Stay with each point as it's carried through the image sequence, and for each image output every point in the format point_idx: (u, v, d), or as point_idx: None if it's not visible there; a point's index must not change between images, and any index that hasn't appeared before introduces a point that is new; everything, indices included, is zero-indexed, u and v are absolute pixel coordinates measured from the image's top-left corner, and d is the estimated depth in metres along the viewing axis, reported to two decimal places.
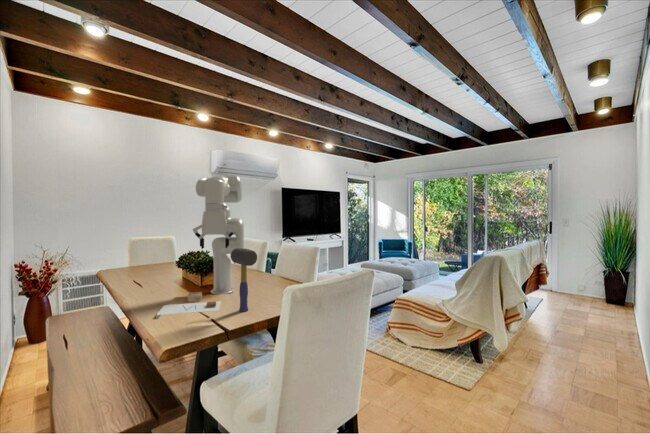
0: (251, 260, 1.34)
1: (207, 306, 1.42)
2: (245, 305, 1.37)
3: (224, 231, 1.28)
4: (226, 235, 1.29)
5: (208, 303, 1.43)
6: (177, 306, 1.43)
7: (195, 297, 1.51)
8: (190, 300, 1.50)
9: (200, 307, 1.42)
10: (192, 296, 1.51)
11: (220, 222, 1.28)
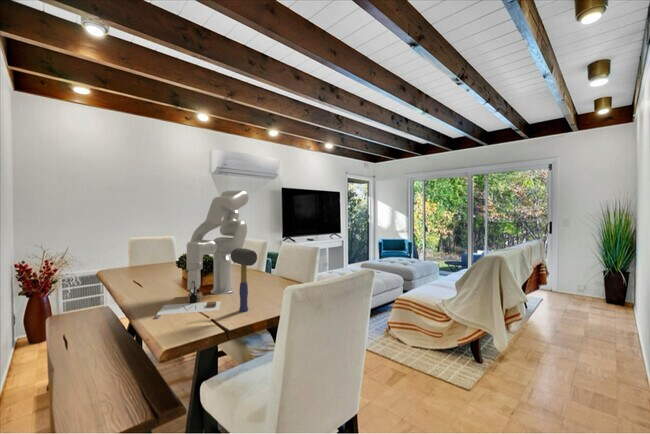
0: (251, 260, 1.34)
1: (207, 306, 1.42)
2: (245, 305, 1.37)
3: None
4: (198, 287, 1.57)
5: (208, 303, 1.43)
6: (177, 306, 1.43)
7: None
8: None
9: (200, 307, 1.42)
10: None
11: None
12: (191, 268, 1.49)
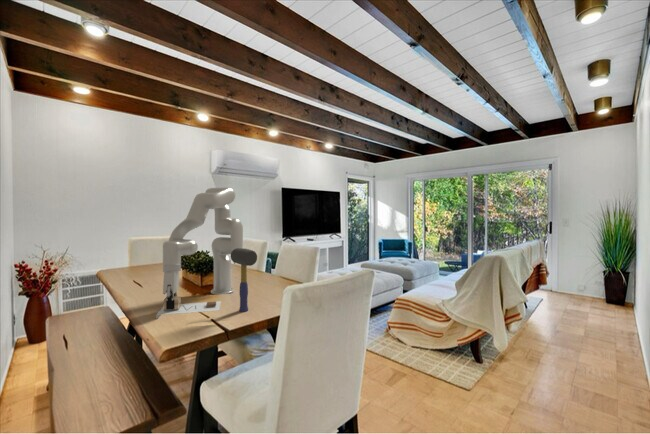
0: (251, 260, 1.34)
1: (207, 306, 1.42)
2: (245, 305, 1.37)
3: (178, 286, 1.44)
4: (176, 293, 1.43)
5: (208, 303, 1.43)
6: None
7: None
8: None
9: (200, 307, 1.42)
10: None
11: (178, 279, 1.42)
12: (167, 270, 1.35)
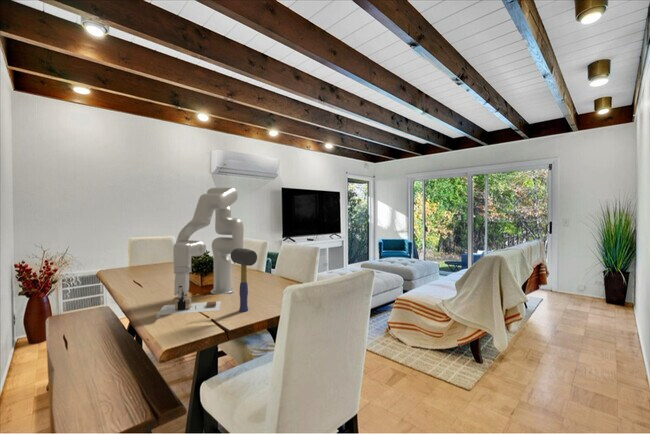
0: (251, 260, 1.34)
1: (207, 306, 1.42)
2: (245, 305, 1.37)
3: None
4: (186, 293, 1.44)
5: (208, 303, 1.43)
6: None
7: None
8: None
9: (200, 307, 1.42)
10: None
11: None
12: (178, 271, 1.37)
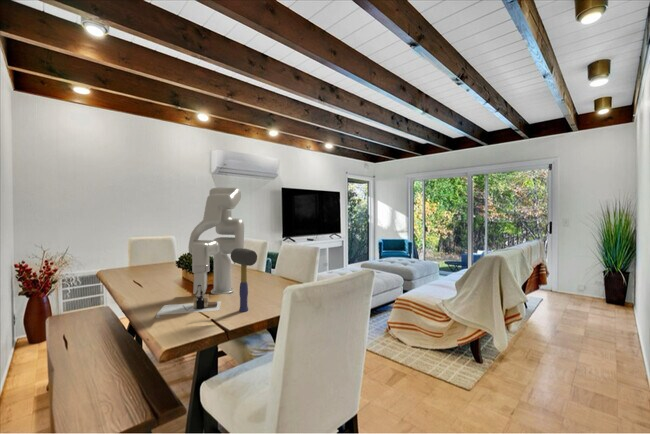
0: (251, 260, 1.34)
1: (208, 306, 1.42)
2: (245, 305, 1.37)
3: None
4: None
5: (209, 303, 1.43)
6: (177, 306, 1.43)
7: None
8: None
9: None
10: None
11: None
12: (197, 271, 1.39)
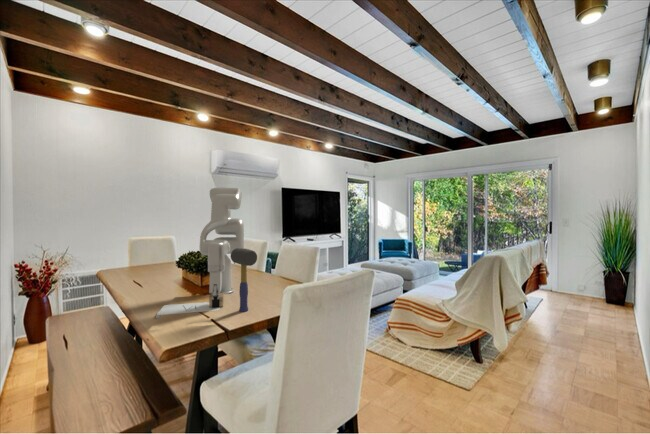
0: (251, 260, 1.34)
1: None
2: (245, 305, 1.37)
3: None
4: (219, 292, 1.48)
5: None
6: (177, 306, 1.43)
7: None
8: None
9: (200, 307, 1.42)
10: None
11: None
12: (213, 270, 1.40)
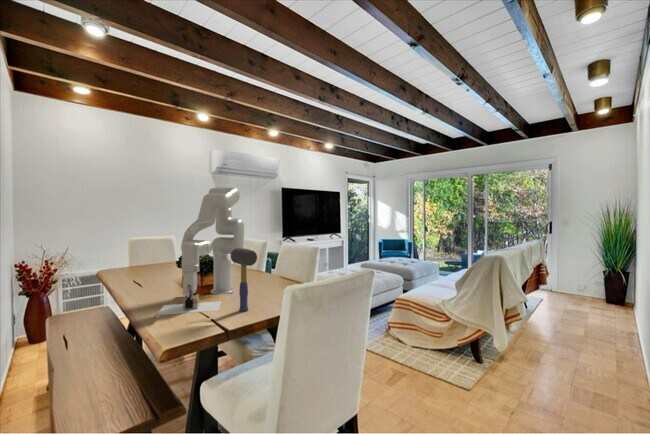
0: (251, 260, 1.34)
1: None
2: (245, 305, 1.37)
3: None
4: (195, 290, 1.47)
5: None
6: (177, 306, 1.43)
7: None
8: None
9: (200, 307, 1.42)
10: None
11: None
12: (187, 271, 1.38)
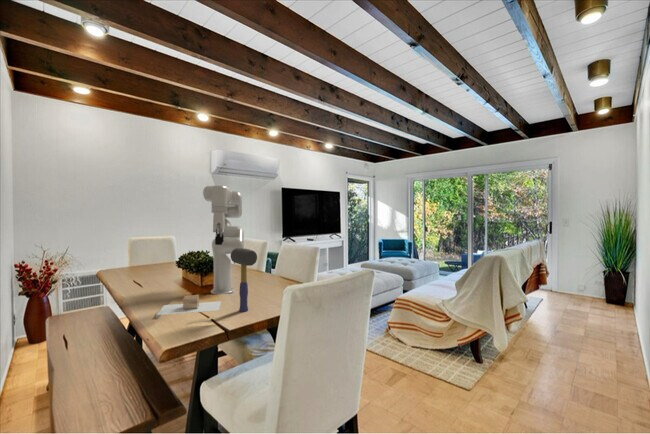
0: (251, 260, 1.34)
1: None
2: (245, 305, 1.37)
3: None
4: (222, 232, 1.59)
5: None
6: (177, 306, 1.43)
7: (191, 301, 1.39)
8: (186, 304, 1.39)
9: (200, 307, 1.42)
10: (188, 300, 1.39)
11: None
12: (216, 211, 1.50)
